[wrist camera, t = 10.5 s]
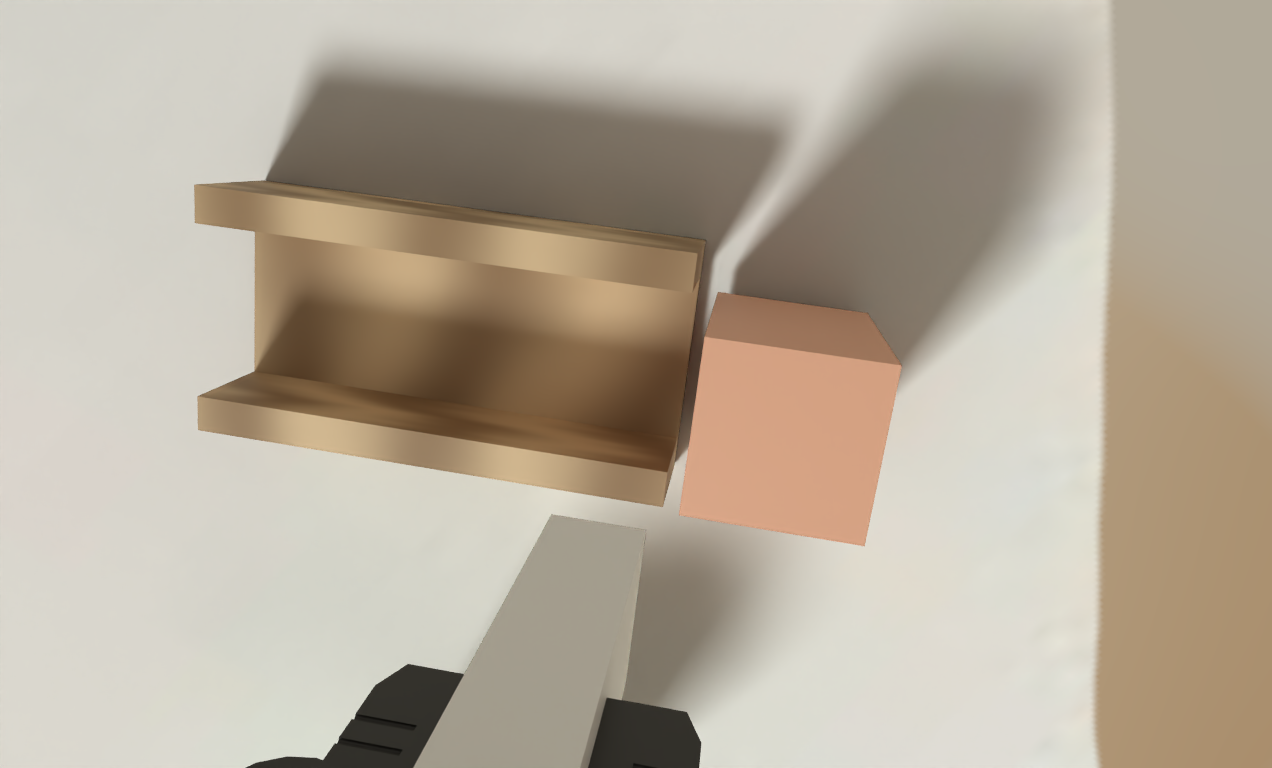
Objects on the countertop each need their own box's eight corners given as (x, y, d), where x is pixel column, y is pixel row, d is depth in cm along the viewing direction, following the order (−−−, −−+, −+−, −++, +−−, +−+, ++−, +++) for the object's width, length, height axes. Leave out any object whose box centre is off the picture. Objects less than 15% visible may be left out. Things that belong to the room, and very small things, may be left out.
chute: (263, 397, 34) (198, 429, 30) (264, 180, 32) (194, 184, 28) (674, 463, 32) (662, 507, 29) (706, 240, 30) (697, 253, 26)
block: (697, 431, 31) (678, 515, 24) (717, 291, 30) (704, 336, 23) (840, 453, 31) (864, 546, 24) (867, 313, 29) (901, 365, 22)
